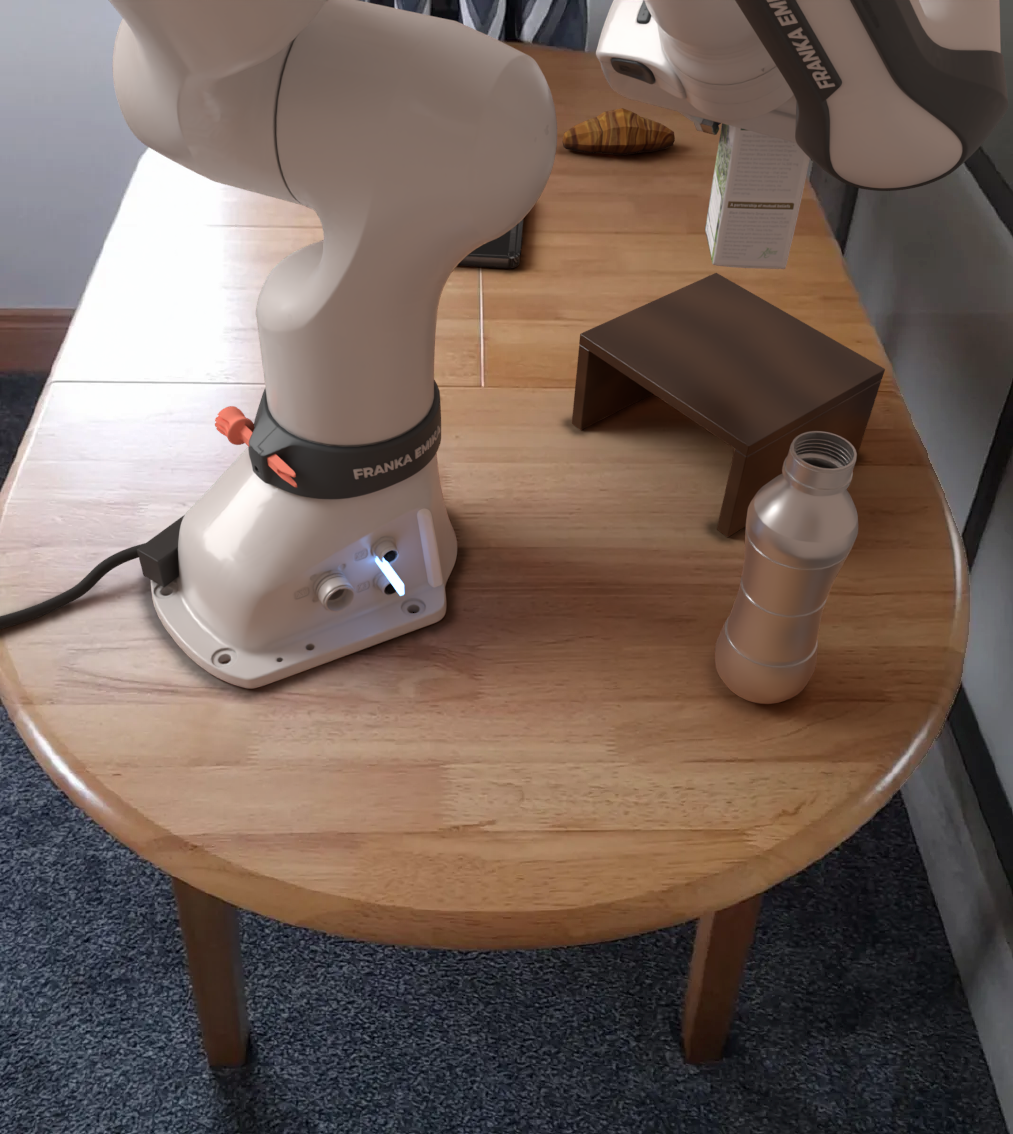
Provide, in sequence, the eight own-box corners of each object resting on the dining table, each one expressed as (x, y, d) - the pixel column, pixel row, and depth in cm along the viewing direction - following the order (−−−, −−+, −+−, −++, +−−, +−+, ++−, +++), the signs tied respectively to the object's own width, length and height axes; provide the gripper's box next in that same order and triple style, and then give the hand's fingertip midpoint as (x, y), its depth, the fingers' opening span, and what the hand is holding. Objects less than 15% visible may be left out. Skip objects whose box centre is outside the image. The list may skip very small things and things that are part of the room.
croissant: (566, 164, 134) (569, 122, 131) (556, 138, 139) (559, 97, 136) (680, 161, 136) (686, 119, 132) (666, 136, 141) (672, 94, 137)
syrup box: (788, 271, 86) (834, 72, 76) (708, 267, 86) (744, 68, 76) (776, 233, 90) (819, 40, 80) (700, 229, 90) (733, 35, 80)
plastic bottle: (818, 715, 77) (900, 486, 63) (718, 718, 77) (779, 488, 63) (794, 642, 82) (865, 414, 68) (699, 646, 81) (752, 416, 68)
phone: (441, 254, 116) (454, 184, 127) (441, 264, 117) (454, 194, 128) (520, 259, 116) (526, 189, 127) (520, 269, 117) (526, 198, 127)
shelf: (727, 537, 90) (749, 446, 83) (571, 423, 99) (579, 333, 93) (857, 458, 97) (885, 368, 91) (700, 359, 107) (716, 272, 101)
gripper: (933, 24, 66) (929, 132, 79) (610, -46, 73) (655, 64, 86) (890, 129, 66) (892, 219, 79) (571, 49, 73) (622, 144, 86)
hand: (767, 138), depth 83 cm, fingers closed on syrup box, 7 cm apart
